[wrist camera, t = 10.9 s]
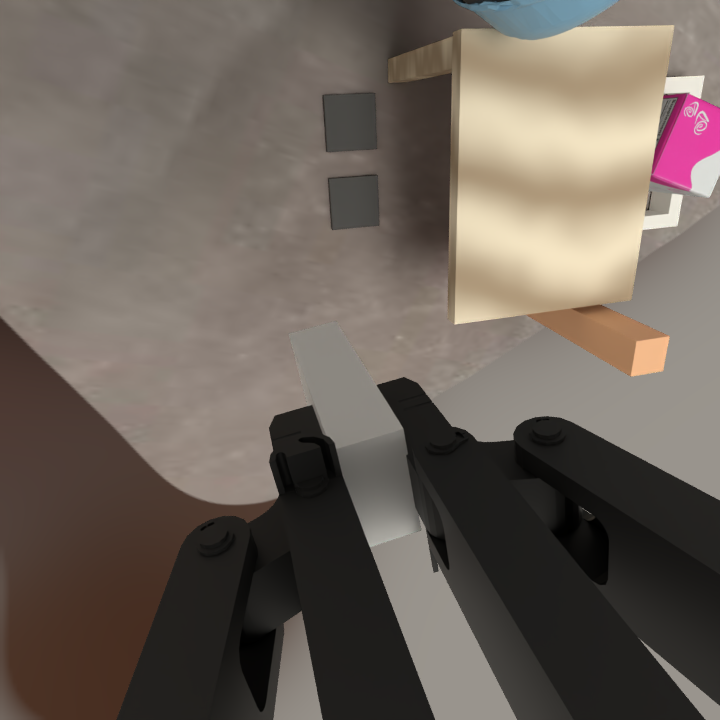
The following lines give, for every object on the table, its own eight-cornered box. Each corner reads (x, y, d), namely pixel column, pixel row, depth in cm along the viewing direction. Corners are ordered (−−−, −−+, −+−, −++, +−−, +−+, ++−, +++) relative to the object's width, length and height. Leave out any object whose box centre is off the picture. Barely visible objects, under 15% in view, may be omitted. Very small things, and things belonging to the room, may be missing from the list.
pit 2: (328, 178, 44) (329, 179, 44) (376, 174, 45) (377, 175, 45) (331, 228, 46) (332, 229, 46) (378, 224, 47) (379, 225, 46)
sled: (502, 85, 45) (682, 61, 28) (681, 77, 49) (937, 53, 32) (491, 294, 52) (630, 376, 35) (648, 274, 56) (843, 340, 39)
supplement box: (636, 121, 49) (749, 120, 39) (607, 187, 51) (709, 203, 41) (585, 98, 47) (690, 91, 37) (557, 168, 49) (650, 180, 39)
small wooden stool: (387, 56, 42) (461, 28, 30) (548, 51, 45) (674, 25, 33) (392, 275, 49) (454, 324, 37) (531, 259, 52) (631, 300, 40)
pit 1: (322, 95, 42) (323, 95, 42) (373, 93, 43) (375, 93, 42) (326, 151, 44) (327, 152, 43) (375, 148, 44) (377, 149, 44)
